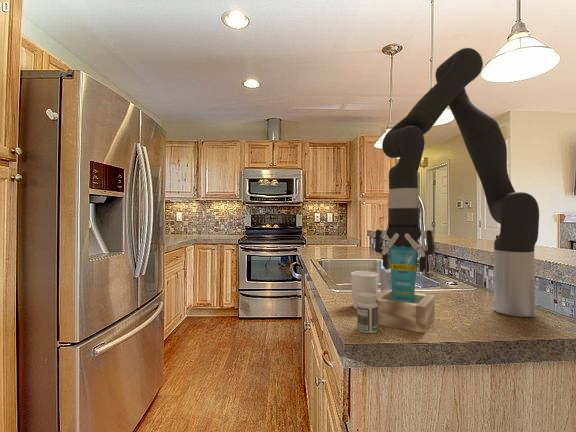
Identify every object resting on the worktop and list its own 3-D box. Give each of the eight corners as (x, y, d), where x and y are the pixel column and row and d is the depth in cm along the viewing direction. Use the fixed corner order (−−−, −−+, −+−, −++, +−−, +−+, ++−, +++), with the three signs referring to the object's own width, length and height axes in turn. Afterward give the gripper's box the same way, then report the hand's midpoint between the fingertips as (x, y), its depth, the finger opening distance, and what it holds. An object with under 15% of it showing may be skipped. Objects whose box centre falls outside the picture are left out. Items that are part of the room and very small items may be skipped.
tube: (387, 321, 83) (388, 246, 83) (387, 316, 88) (388, 244, 88) (419, 324, 81) (419, 247, 81) (417, 318, 85) (418, 245, 85)
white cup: (345, 307, 96) (345, 273, 96) (359, 302, 102) (359, 270, 102) (369, 313, 90) (369, 276, 90) (383, 307, 96) (383, 273, 96)
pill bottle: (375, 326, 79) (375, 292, 79) (380, 334, 75) (380, 297, 75) (355, 326, 80) (355, 291, 79) (359, 333, 75) (359, 296, 75)
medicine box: (400, 299, 106) (400, 272, 106) (386, 299, 106) (386, 272, 106) (393, 293, 113) (393, 268, 113) (380, 293, 114) (380, 268, 114)
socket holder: (434, 318, 86) (434, 295, 86) (424, 333, 75) (425, 307, 75) (385, 310, 93) (385, 289, 93) (369, 323, 82) (369, 299, 82)
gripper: (435, 206, 83) (436, 270, 83) (380, 207, 91) (380, 266, 91) (430, 205, 77) (431, 275, 77) (371, 207, 84) (372, 270, 84)
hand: (404, 270), depth 84 cm, fingers open, 8 cm apart
